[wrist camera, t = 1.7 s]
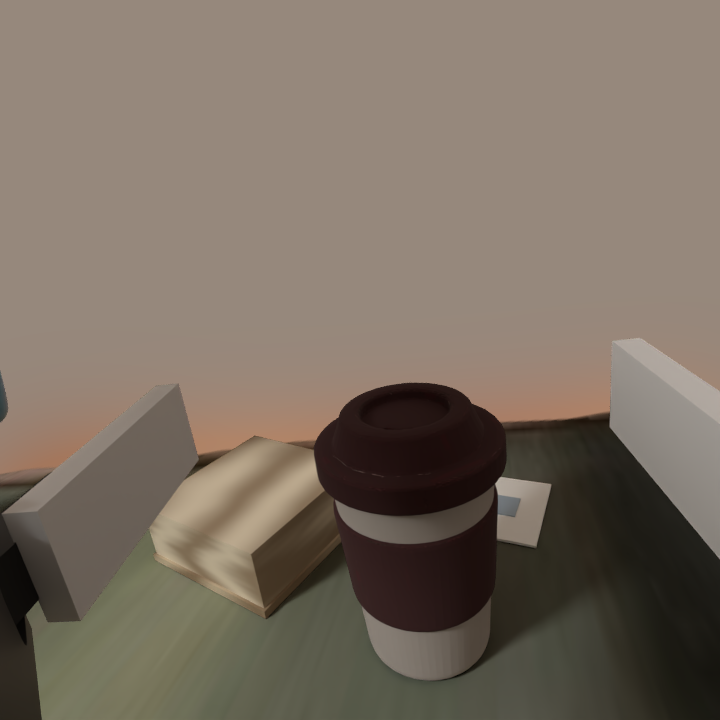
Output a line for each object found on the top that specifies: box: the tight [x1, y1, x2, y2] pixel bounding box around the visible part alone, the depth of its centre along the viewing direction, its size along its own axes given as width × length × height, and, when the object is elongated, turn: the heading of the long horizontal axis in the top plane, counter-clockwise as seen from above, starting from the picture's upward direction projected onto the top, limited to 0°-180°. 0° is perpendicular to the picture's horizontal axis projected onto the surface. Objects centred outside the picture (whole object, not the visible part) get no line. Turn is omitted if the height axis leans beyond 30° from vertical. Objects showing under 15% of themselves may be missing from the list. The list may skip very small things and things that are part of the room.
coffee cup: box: [314, 383, 507, 681], centre depth 29 cm, size 10×10×15 cm
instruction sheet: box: [495, 477, 551, 548], centre depth 42 cm, size 10×8×1 cm
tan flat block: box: [149, 436, 341, 619], centre depth 41 cm, size 12×12×5 cm
